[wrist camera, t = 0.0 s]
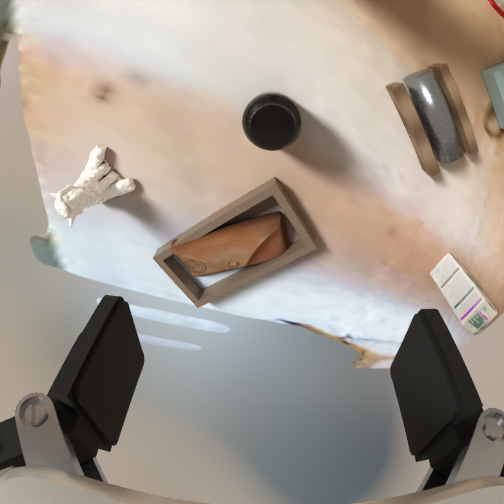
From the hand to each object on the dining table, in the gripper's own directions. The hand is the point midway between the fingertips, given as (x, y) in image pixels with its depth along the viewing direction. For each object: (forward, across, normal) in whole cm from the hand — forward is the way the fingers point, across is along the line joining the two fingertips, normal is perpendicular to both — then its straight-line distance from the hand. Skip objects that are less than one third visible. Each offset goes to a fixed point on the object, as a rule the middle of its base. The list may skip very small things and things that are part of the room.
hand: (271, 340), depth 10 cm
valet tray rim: (+37, +5, +18) cm, 42 cm away
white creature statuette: (+38, +26, +7) cm, 46 cm away
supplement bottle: (+38, 0, -2) cm, 38 cm away
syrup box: (+38, -34, +21) cm, 55 cm away
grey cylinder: (+38, -23, -6) cm, 45 cm away
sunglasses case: (+37, +5, +18) cm, 42 cm away
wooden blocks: (+37, -24, -5) cm, 44 cm away
